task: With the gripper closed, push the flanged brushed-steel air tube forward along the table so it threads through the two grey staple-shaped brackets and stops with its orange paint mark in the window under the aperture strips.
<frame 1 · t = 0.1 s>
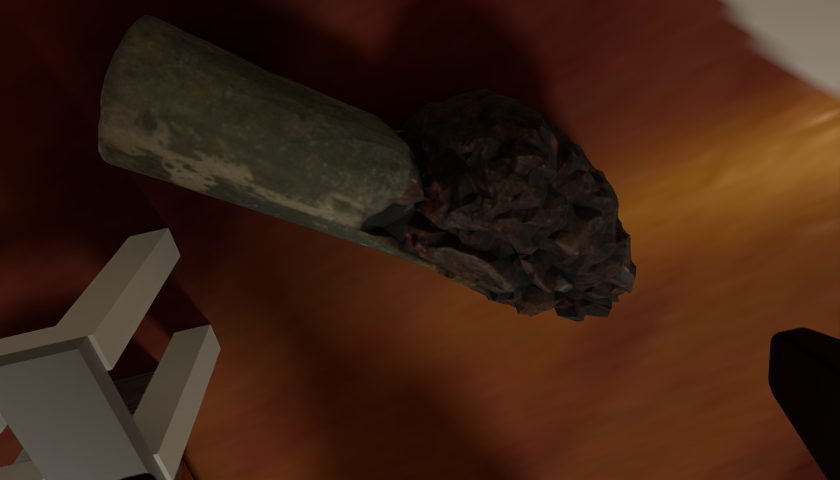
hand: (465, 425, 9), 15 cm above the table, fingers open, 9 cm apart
dark piece: (400, 148, 22), on the table
grey staple-shaped bracket: (78, 317, 24), on the table
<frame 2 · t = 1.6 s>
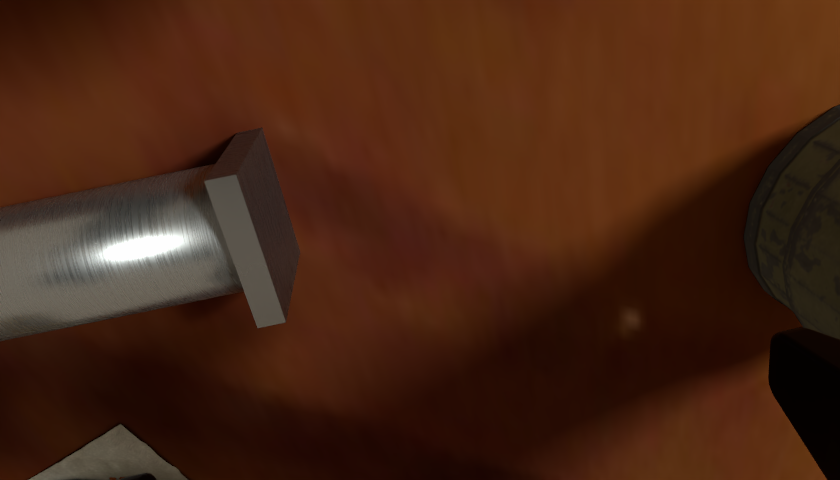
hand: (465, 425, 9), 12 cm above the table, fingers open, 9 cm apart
air tube: (26, 244, 20), on the table
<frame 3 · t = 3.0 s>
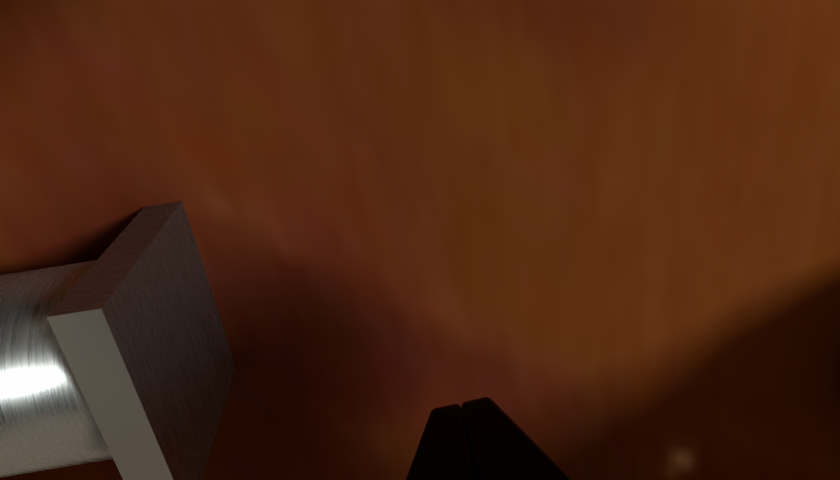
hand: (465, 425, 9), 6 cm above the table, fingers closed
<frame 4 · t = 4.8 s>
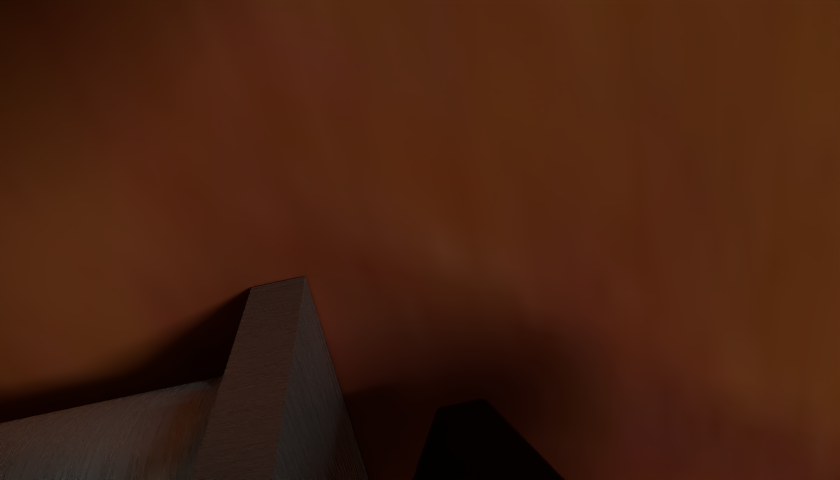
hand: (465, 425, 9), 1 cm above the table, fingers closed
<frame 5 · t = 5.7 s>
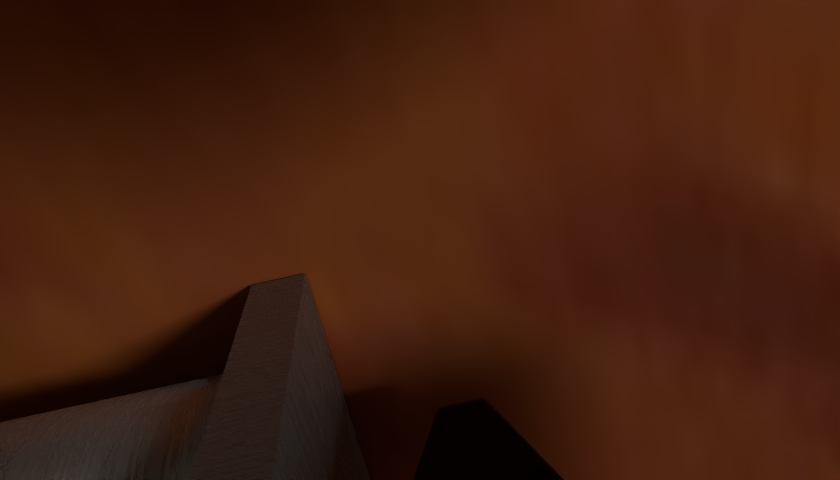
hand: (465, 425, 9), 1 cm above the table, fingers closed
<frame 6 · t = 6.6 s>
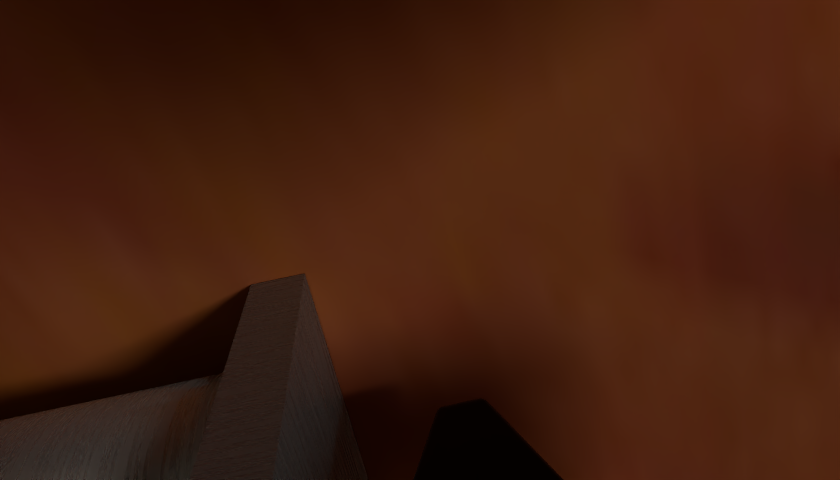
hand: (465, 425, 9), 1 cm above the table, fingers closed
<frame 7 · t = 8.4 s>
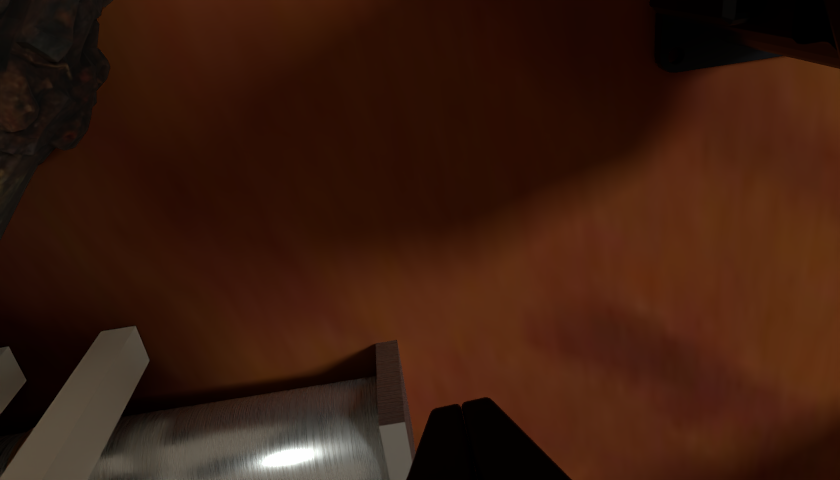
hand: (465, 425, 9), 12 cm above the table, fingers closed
air tube: (185, 421, 23), on the table
grey staple-shaped bracket: (104, 441, 23), on the table
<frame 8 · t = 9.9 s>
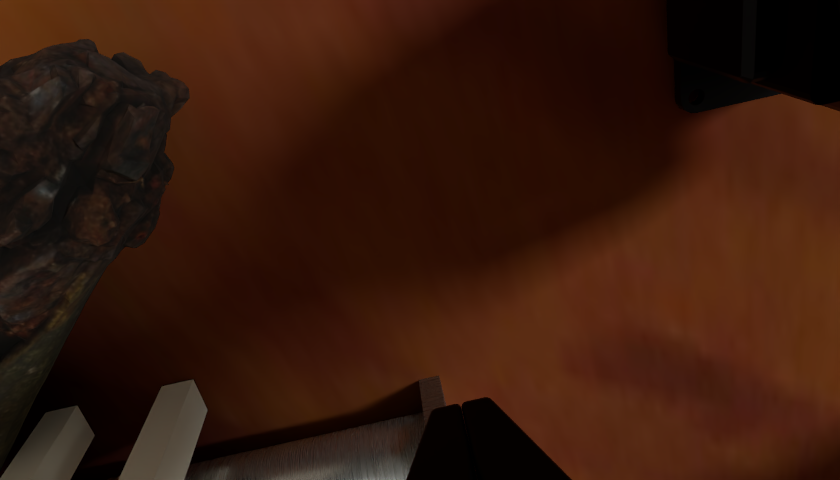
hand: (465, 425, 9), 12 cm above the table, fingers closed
air tube: (243, 464, 24), on the table
dark piece: (15, 259, 20), on the table, touching grey staple-shaped bracket
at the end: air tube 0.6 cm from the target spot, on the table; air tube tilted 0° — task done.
